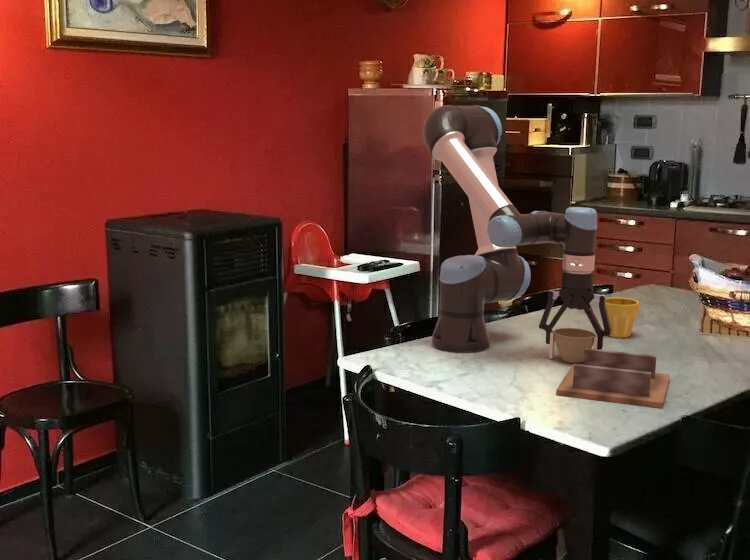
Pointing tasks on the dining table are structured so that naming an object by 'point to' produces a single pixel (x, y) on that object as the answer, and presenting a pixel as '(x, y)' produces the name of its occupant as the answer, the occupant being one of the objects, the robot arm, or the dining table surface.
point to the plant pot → (621, 315)
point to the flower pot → (573, 343)
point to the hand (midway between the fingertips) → (573, 359)
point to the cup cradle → (616, 379)
